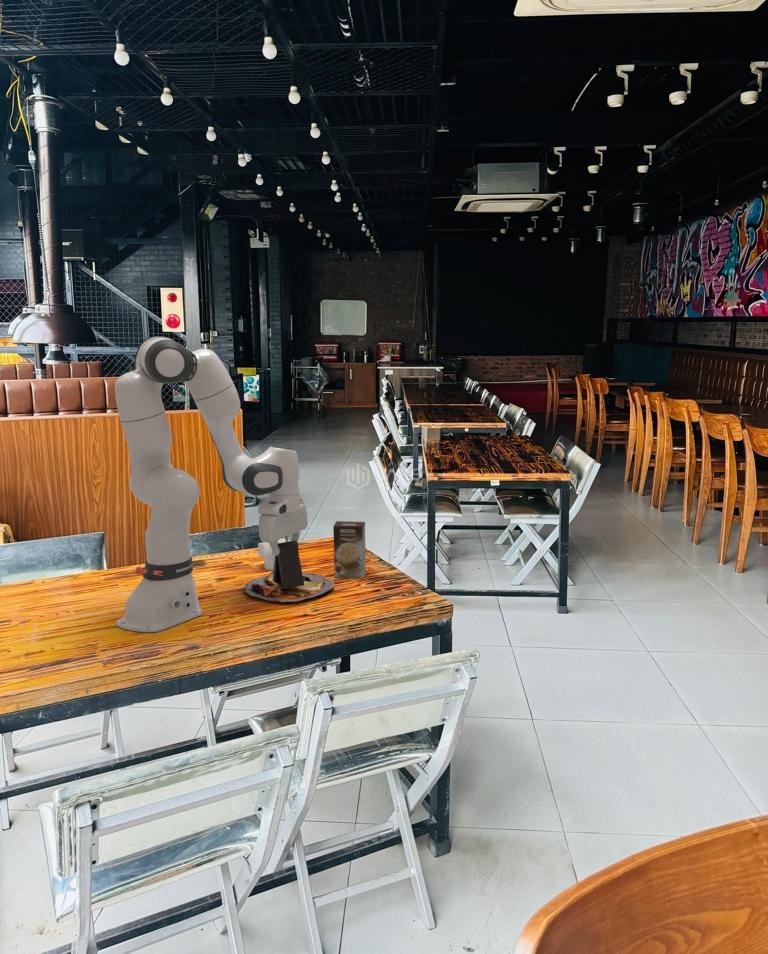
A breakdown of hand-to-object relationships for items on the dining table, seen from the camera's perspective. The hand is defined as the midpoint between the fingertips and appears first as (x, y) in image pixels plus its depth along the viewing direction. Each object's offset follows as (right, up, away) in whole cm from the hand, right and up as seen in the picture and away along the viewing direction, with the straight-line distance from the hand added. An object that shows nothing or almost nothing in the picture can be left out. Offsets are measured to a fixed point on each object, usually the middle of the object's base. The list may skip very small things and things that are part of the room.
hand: (285, 550), depth 215 cm
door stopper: (+1, -10, +2) cm, 10 cm away
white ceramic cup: (-7, -7, +25) cm, 27 cm away
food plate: (+1, -12, +3) cm, 13 cm away
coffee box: (+18, -9, +15) cm, 25 cm away
